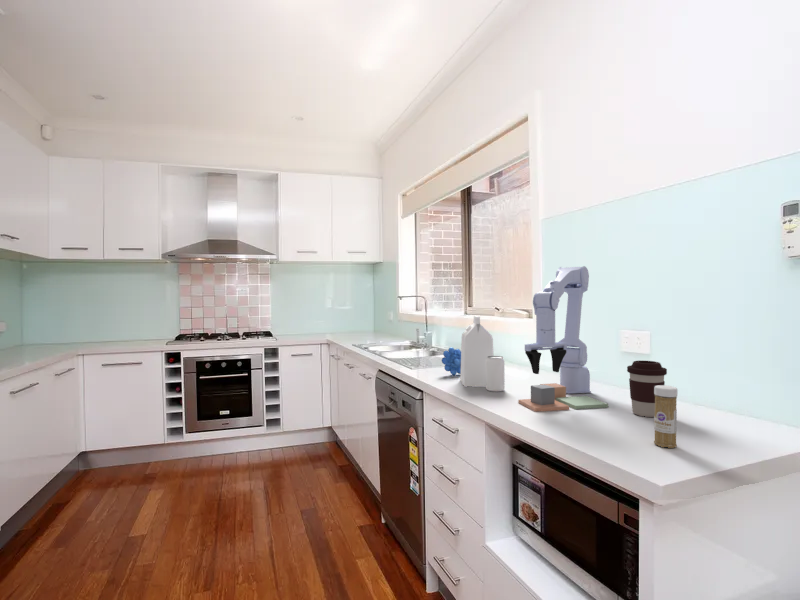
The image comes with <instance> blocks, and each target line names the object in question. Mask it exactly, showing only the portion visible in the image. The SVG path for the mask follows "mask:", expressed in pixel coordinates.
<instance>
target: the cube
mask: <svg viewBox="0 0 800 600" xmlns="http://www.w3.org/2000/svg"><path fill="white" fill-rule="evenodd" d="M542 384H543V385H540V384H534V385H530V399H531V402H533V403H536V404H539V405H548V404H555V387H551V386H548V385H544V384H545V383H542Z"/></svg>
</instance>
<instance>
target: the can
mask: <svg viewBox="0 0 800 600" xmlns="http://www.w3.org/2000/svg"><path fill="white" fill-rule="evenodd" d="M505 370H506V369H505V360H504V357H503V356H501V355H494V356H488V358H487V360H486V387H485V388H486V390H487V391H488V392H492V393H493V392H495V393H498V392H504V391H505V385H506V384H505V382H506V381H505V380H506V379H505V375H506V374H505Z"/></svg>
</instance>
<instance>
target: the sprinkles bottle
mask: <svg viewBox="0 0 800 600" xmlns="http://www.w3.org/2000/svg"><path fill="white" fill-rule="evenodd" d="M654 394H655V416H654V417H653V419H654V421H653V422H654V425H653V426H654V429H653V430H654V440H653V443H654V445H655V444H656V445H655V446H657V445H658V446H657V447H660V446H661V448H664V447H668V448H667V449H675V448H677V446H678V445H677V428H678V427H677V426H678V425H677V423H678V422H677V417H678V416H677V415H678V414H677V409H678V408H677V400H678V399H677V398H678V388H677V386H676V387H675V386H672V385H666V384H664V385H657V386H655V387H654ZM674 447H675V448H674Z"/></svg>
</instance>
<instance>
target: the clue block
mask: <svg viewBox="0 0 800 600" xmlns="http://www.w3.org/2000/svg"><path fill="white" fill-rule="evenodd" d="M543 384H544V385H548V386H551V387H555V400H556V398H558V397H567V394H566V387H565V386H562V385H560V383H557V382H556V383H555V382H554V383H540V384H539V385H543Z"/></svg>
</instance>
